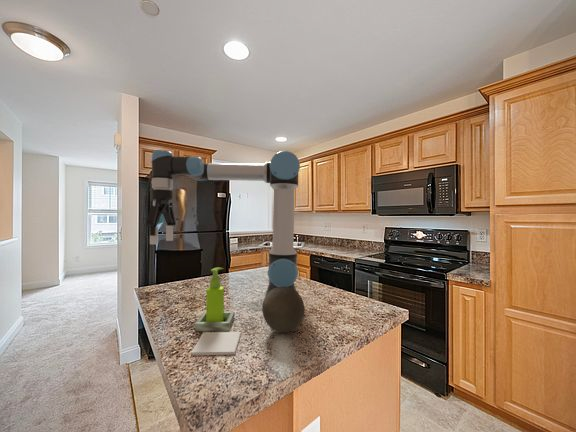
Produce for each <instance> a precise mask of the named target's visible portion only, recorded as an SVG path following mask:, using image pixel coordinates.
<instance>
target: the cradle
mask: <svg viewBox="0 0 576 432" xmlns="http://www.w3.org/2000/svg"><path fill="white" fill-rule="evenodd" d="M224 320H225V321H224V322H206V311H203V312H202V314H201V315H200V317H198V320H196V321H195V323H194V331H195V332H230V330H231V327H232V324H233V323H234V320H235V311H224Z"/></svg>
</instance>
